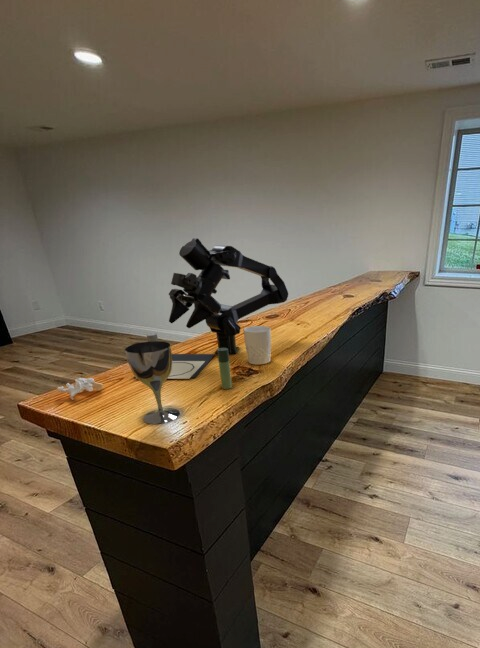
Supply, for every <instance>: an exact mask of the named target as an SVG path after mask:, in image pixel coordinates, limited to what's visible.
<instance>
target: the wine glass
mask: <svg viewBox="0 0 480 648" xmlns="http://www.w3.org/2000/svg"><path fill="white" fill-rule="evenodd" d="M124 352H125V357H126V361H127V363H128V366H129V368H130V371H131V372H132V374H133V377H136V378H137V379H136V380H138V381H140V383H142V384H144V385H145V386H146V387H148V388H149V389H150V390H151V391H152V392H153V395H154V398H155V401H156V405H157V409H152V410H151V411H148V412H147V413H146V414H144V416H143V417H142V421H143V422H144V423H146V424H149V425H161V424H165V423H168V422H171V421H174V420H176V419H177V418H178V417H180V415H181V412H180V410H179V409H177V408H174V407H163V404H162V393H161V391H162V388H163V386H164V384H165V382H166V381H167V380H168V379H167V378H168V377H169V375H170V373H171V370H172V354H173V353H172V347H171V343H170V342H167V341H161V340H158V341H151V342H148V341H143V342H137V343H134V344H133V343H132V344H131V345H128V346H127V347H125V349H124Z"/></svg>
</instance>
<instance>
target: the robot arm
mask: <svg viewBox="0 0 480 648" xmlns="http://www.w3.org/2000/svg"><path fill="white" fill-rule="evenodd" d="M178 255H179V256H180V257H181V259H183V260H184V261H185V262H186V263H187V264H188V265H189V266H190V267H191V268H192V269H193V270H194V271H200V273H199V274H198V276H197V274H195V273H192V272H187V273H186V274H183V273H180V272H179V273H178V272H173V275H172V279H171V281H170V285H172V286H177V287H180V288H181V289H179V288H172V289H171V290H170V291H169V293H168V296H169V299H170V300H171V303H172V305H171V311H170V315H169V318H168V323H170V324H174V323H175V322H177V320H179V318H181V317H182V316H184V315H185V314H186V313H187V312H188V311H190V308H191V307H192V306H193V305H194V306H193V307H194V309H193V311H192V312H191V315H190V317H189V318H188V320H187V323H186V325H185V326H186V328H188V329H191V328H193V327H195V326H196V325H198V324H200V323H201V322H203V321H205V324H206V326H207V327H208V328H209V329H210V331H211V333H215V334H216V340H217V349H219V348H228V353H229V355H230V354H231V355H235V354H236V353H237V352H238V351H239V350H240V347H239V346H237V342H236V341H237V340H236V336H237V335H239V334H241V326H240V325H239V324H238V321H239V320H240V319H242V318H245V317H246V316H249V315H250V314H252V313H255V312H257V311H258V310H261V309H263V308H265V307H267V306H271V305H277V304H283V303H285V302H286V301H288V298H289V291H288V288H287V285H286V284H285V281H284V280H283V279H282V277H281V276H280V275H279V274H278V271H277V269H276V268H275V267H274V266H272V265H267V264H265V263H263V262H260V261H258V260H255V259H253V258H250V257H248V256H245V255H244V254H243V253H242V251H240V250H239V249H237V248H235V247H234V246H232V245H214V246H213V247H212V249H210V250H209V249H207V248H206V246H205V245H203V243H202V241H201V240H200V239H199V238H198V237H197V238H196V237H193V238H192V239H191V240H190V241H188V242H187V243H185V244H184V245H182V247H181V248H180V250H179V253H178ZM224 267H227V268H229V267H230V268H237V269H239V270H243V271H244V272H248V273H251V274H254V275H257V276H260V279H261V288H262V289H261V292H260V293H258V294H256V295H254V296H252V297H250V298H247V299H245V300H243V301H241V302H239V303H237V304H234V305H226V304H222V303H220V302H219V301H218V300H216V299H215V298H214V297H213V296H212V295H213V294H214V295H216V294H217V292H218V290H217V289H216V288H217V287H218V285H219V284H220V282H221V281H222V280H231V276H230V273H229V269H224ZM270 281H271V282H272V284H271V283H270ZM214 354H215V355H218V352H217V350H216V351H214Z"/></svg>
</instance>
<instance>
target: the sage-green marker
mask: <svg viewBox="0 0 480 648" xmlns="http://www.w3.org/2000/svg"><path fill="white" fill-rule="evenodd" d="M216 351H217V352H218V354H217V360H218V365H219V374H220V375H219V376H220V384H221V389H223V390H229V389H230V390H231V389H232V387H233V384H232V375H231V367H230V354H229V353H228V348H219V349H218V348H217V349H216Z"/></svg>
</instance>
